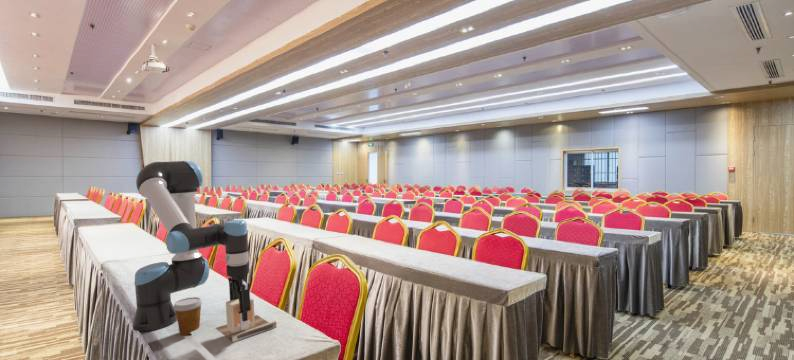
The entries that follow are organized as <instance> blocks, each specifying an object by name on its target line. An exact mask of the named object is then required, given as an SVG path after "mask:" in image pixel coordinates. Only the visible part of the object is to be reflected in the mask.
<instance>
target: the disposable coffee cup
mask: <svg viewBox="0 0 794 360" xmlns="http://www.w3.org/2000/svg"><path fill="white" fill-rule="evenodd" d="M202 304H203V301H202V299H201V298H200V297H197V296H192V297H186V298H182V299H179V300H177V301H175V302H174V305H173V308H174V310H175V312H176V316H177V320H176V321H177V324H178V331H179V334H180V336H181V337H189V336H192V333H191V332H195V331H196V330H198V329H199V328H200V326H201V324H200V323H201V321H200V320H201V311H202V310H201V309H202Z"/></svg>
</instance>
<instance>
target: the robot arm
mask: <svg viewBox="0 0 794 360" xmlns="http://www.w3.org/2000/svg"><path fill="white" fill-rule="evenodd" d="M203 181H204V180H203V173H202V170H201V168H200V166H199V165H198V164H197V163H196V162H194V161H189V160H182V161H181V160H177V161H176V160H175V161H153V162H150V163H148V164H146V165H145V166H144V167H142V168H141V169H140V171H139V172H138V174H137V176H136V181H135V183H136V189H137V191H138V193H139V194H140V195H141V197H143V198H146V200H147V202H148V203H149V205H150V207H151V208H152V210H153V212H154V213H155V214H156V216H157V218H158V219H159V221H160V223H161V224H162V226H163V228H164V229H165V231H166V233H167V234H166V236H165V246H166V249H167V251H168V252H169V253H171V254H172V255H173V257H172V258H171V264H169V263H168V262H166V261H161V262H160V261H159V262H155V263H150V264H148V265H144V266H142V267H140V268H138V269H137V270H136V272H135V273H134V284H133V285H134V289H135V300H136V302H135V303H136V310H135V313H134V316H133V319H132V330H133V331H136V332H148V331H149V332H151V331H155V330H159V329H162V328H166V327H168V326H170V325H173V324H174V323H175V322H176V321H177V316H176V312H175V310H174V308H173V307H174V305H173V303H172V299H171V294H173V293H177V292H181V291H185V290H188V289H189V290H190V289H194V288H196V287H200V286H202V285H204V284H205V283H206V282H207V280H208V279H209V276H210V275H209V274H210V265H209V262H208V260H207V258H205V257H203V253H201V252H200V251H199V250H200V249H207V248H211V247H215V246H224V247H225V248H224V249H225V256H224V260H225V261H226V264H227V265H226V276H227V277H228V278H227V280H228V286H229V287H228V289H229V290H228V291H229V301H231V300H235V299H239V304H240V312H239V315H240V330H241V331H242V330H245V329H248V328H249V324H248V311H250V310H251V306H250V297H251V295H250V294H251V292H250V287H251V284H250V283H249V282H248V283H247V279H246V275H248V274H250V264H249V261H250V256H249V255H250V253H249V240H248V239H249V237H248V236H249V235H248V227H247V225H248V224H247V222H246V220H243V219H232V220H227V221H225V222H224V223H220V222H219V223H212V224H211V225H208V226H202V227H197V218H196V206H195V196H196V194H198V191H199V190H198V189H199V188H200V187H202V185H203Z"/></svg>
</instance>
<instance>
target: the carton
mask: <svg viewBox="0 0 794 360" xmlns="http://www.w3.org/2000/svg"><path fill="white" fill-rule="evenodd" d="M254 305H255V302H254V298H253V297H251V296H250V306H251V310H250V311H248V324H249V328H251V327H254V326H255V318H254V316H255V306H254ZM225 311H226V312H225V313H226V324H227V329H228V330H229V331H230V332H232V333H235V332H239V331H241V330H240V315H239V312H240V304H239V299H235V300H231V301H230V300H228V301H225Z"/></svg>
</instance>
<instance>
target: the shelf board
mask: <svg viewBox="0 0 794 360" xmlns="http://www.w3.org/2000/svg"><path fill="white" fill-rule="evenodd" d="M254 318H255V326H254V327H251V328H248V329H245V330H242V331H239V332H235V333H232V332H230V331H229V330H228V329H227V323H226V324H223V325H221V326H217V327H215V329H216V330H218V331H219V333H221V334H222V335H224V336H225V337H226V338H227V339H228V340H230V341H231V342H232V343H234V342H235V343H236V342H238V341H241V340H243V339H246V338H249V337H253V336H255V335H258V334H260V333H263V332H267V331H270V330H273V329H275V328H277V327H278V326H277V321H275V320H274V321H271V322H269V321H267V320H265V319H264V318H263V317H261V316H259V315H257V314H254Z"/></svg>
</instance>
